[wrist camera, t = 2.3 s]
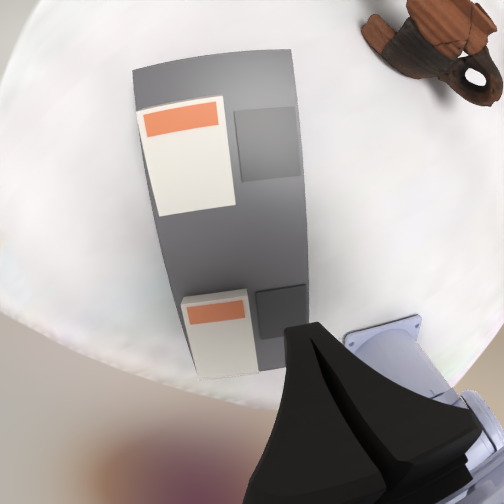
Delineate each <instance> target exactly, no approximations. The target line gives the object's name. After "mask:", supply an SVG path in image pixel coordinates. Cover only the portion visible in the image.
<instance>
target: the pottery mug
mask: <svg viewBox="0 0 504 504" xmlns="http://www.w3.org/2000/svg"><path fill="white" fill-rule="evenodd" d="M406 8H407V10H408V13H409V15H410V17H408V18H407V19H406V21H405V23H404V25H403V26H402V27H401V29H400V30H399V31H398V32H395V31H394V30H393V29H392V28H390V27H389V25H388V24H386V23H385V21H383V19H382V18H381V17H380V16H379V15H377V14H373V15H371V16H370V17H369V19H368V22H367V23H366V24H365V25H364V27H363V28H362V30H361V33H362V35H363V36H364V37H365V39H366V40H367V41H368V42H369V43H370V45H371V46H372V47H373V48H374V49H375V50H376V51H377V52H378V53H379V54H381V56H382V57H383V58H384V59H385V60H387V61H388V62H389V63H390V64H391V66H393V67H395V68H396V69H398V70H399V71H400V72H401V73H403V74H405V75H406V76H410V77H412V78H415V79H421V78H427V77H434V76H436V77H438V79H439V80H441V81H444V82H445V83H447V84H448V85H449V86H450V87H451V88H452V89H453V90H454V91H455V92H456V93H457V94H459V95H460V96H461V97H463V98H464V99H465V100H467V101H469V102H471V103H473V104H476V105H479V106H489V107H491V106H492V104H493V103H494V102H495V101H498V100H499V99H500V97H501V95H502V91H503V81H502V77H501V75H500V72H499V70H498V68H497V67H496V65H495V64H494V62H493V61H492V59H491V57H490V54H489V50H488V48H487V46H486V45H487V43H488V39H487V37H488V35H490V34H491V33H493V32H496V31H497V27H496V25H495V24H494V23H493V21H492V20H491V18H490V17H489V16H488V14H487V13H486V12H485V11H484V9H483V8H482V7H481V6H480V4H479V3H475V4H474V3H473V2H471V1H470V0H407V2H406ZM462 51H464V52H465V53H466V54H468V56H466V57H460V58H458V57H459V56H460V55H461V53H462ZM468 68H472V69H474V70H476V71H478V72H480V73H481V74H483V75H484V77H485V78H486V85H484V86H478V85H475V84H473V83H471V82H469V81H468V80H467V79H466V77H465V72H466V71H467V70H468Z"/></svg>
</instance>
